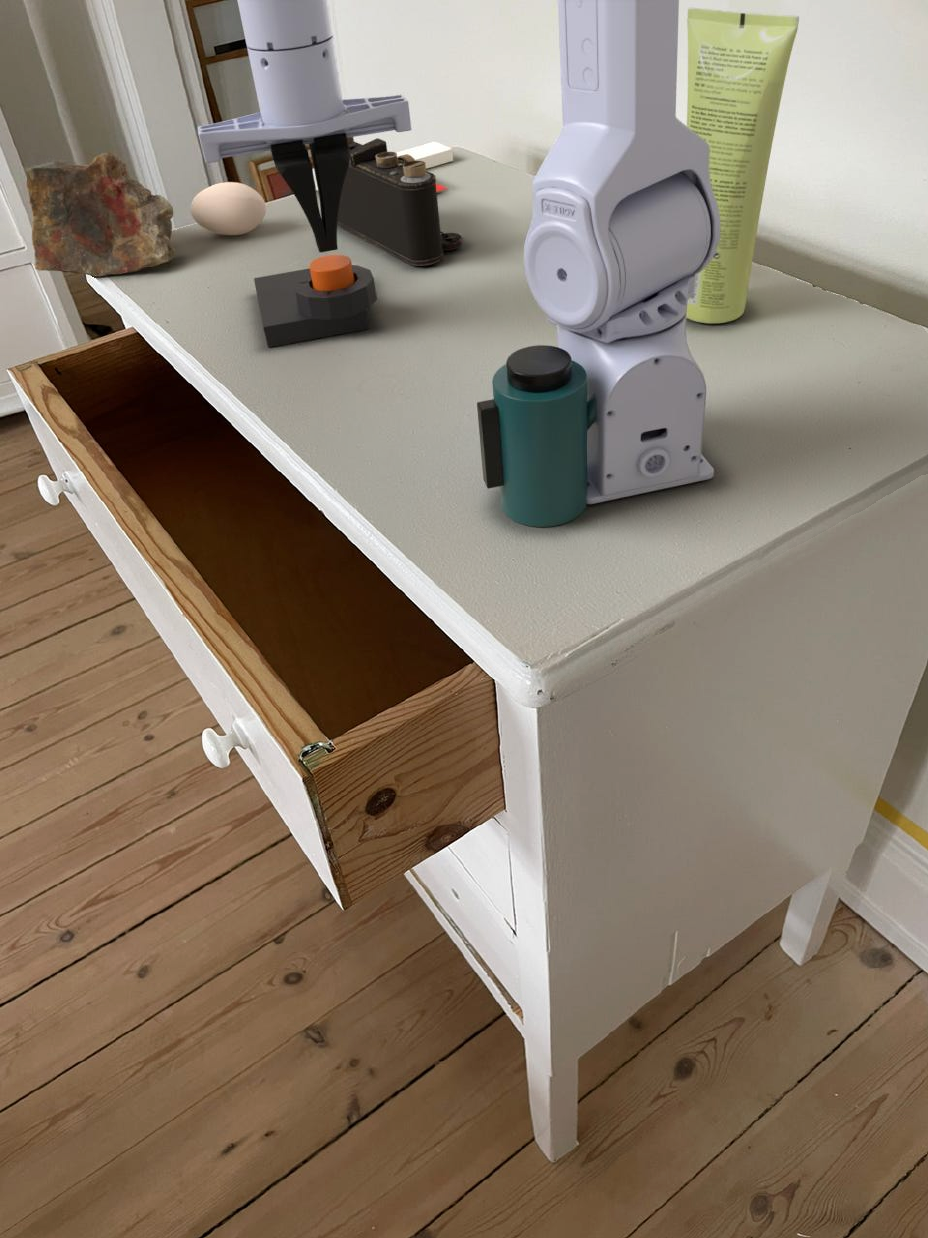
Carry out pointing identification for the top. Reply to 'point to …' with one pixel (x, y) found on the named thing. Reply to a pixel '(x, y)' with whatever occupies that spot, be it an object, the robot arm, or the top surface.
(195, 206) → the egg
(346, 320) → the push button switch
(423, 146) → the eraser
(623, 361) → the robot arm
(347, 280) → the switch button
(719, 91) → the tube
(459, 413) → the top surface
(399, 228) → the camera
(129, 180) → the rock
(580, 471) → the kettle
